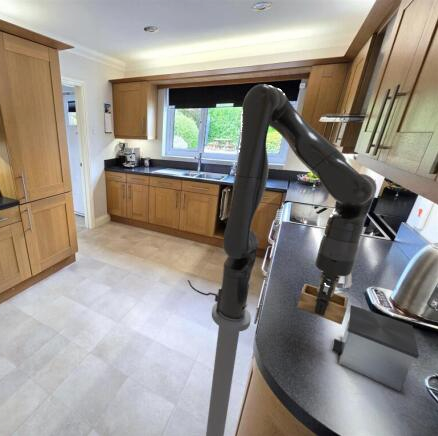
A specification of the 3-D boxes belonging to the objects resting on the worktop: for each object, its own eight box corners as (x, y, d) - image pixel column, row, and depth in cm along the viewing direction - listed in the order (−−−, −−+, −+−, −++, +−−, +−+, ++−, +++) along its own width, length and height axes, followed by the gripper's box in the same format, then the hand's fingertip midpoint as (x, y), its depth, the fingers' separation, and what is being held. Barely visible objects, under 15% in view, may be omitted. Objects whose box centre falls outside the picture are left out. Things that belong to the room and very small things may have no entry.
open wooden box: (297, 307, 68) (301, 292, 67) (301, 297, 73) (305, 283, 71) (341, 324, 62) (346, 308, 61) (343, 313, 66) (348, 297, 65)
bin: (330, 360, 68) (340, 325, 64) (334, 334, 77) (344, 302, 74) (402, 393, 59) (419, 355, 55) (397, 360, 68) (412, 325, 65)
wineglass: (338, 307, 90) (351, 264, 85) (345, 321, 83) (359, 275, 78) (313, 301, 93) (323, 259, 88) (317, 314, 86) (328, 269, 81)
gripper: (322, 241, 69) (309, 291, 75) (314, 258, 59) (299, 314, 64) (356, 248, 65) (340, 301, 70) (353, 268, 54) (334, 329, 60)
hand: (320, 307), depth 67 cm, fingers closed on open wooden box, 6 cm apart
